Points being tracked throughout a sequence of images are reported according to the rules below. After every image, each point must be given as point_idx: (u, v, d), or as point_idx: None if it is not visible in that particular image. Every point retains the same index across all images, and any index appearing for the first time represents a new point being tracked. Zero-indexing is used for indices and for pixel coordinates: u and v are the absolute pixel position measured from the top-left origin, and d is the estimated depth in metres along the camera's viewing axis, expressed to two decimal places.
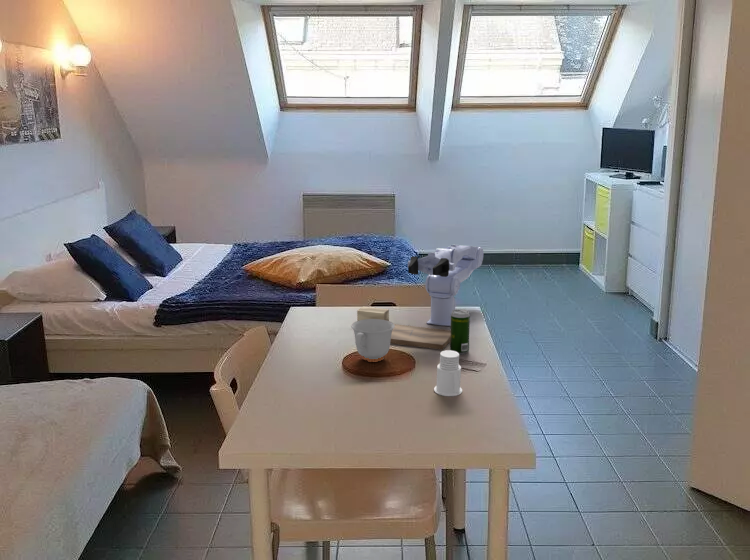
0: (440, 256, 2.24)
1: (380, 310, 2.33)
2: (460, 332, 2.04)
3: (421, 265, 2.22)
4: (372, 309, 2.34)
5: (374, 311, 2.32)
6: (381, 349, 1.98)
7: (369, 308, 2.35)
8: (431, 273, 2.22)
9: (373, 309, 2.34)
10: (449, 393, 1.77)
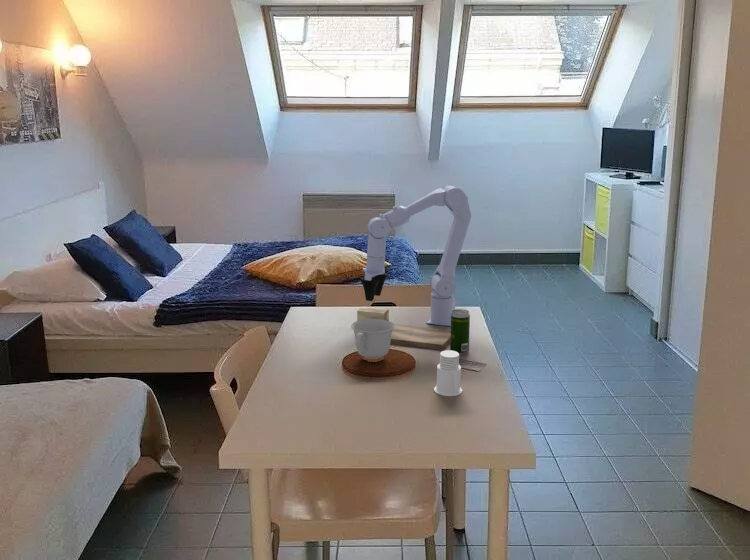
0: (367, 261, 2.28)
1: (380, 310, 2.33)
2: (460, 332, 2.04)
3: None
4: (372, 309, 2.34)
5: (374, 311, 2.32)
6: (381, 349, 1.98)
7: (369, 308, 2.35)
8: None
9: (373, 309, 2.34)
10: (449, 393, 1.77)
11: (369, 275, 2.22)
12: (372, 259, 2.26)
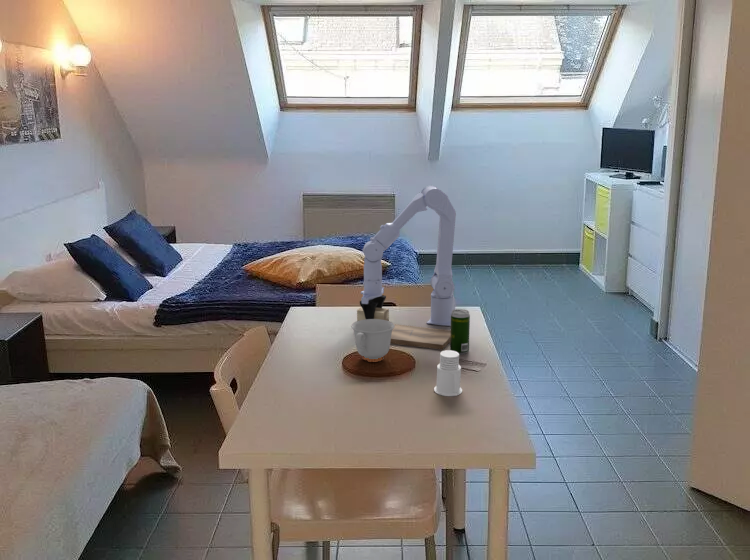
0: (364, 284, 2.31)
1: (380, 309, 2.33)
2: (460, 332, 2.04)
3: None
4: None
5: None
6: (381, 349, 1.98)
7: None
8: None
9: None
10: (449, 393, 1.77)
11: (365, 299, 2.25)
12: (368, 282, 2.29)
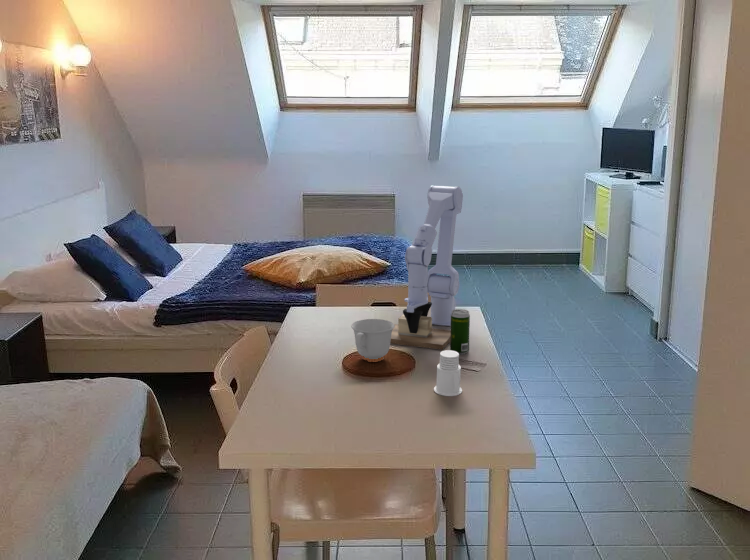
0: (408, 291, 2.16)
1: (423, 318, 2.18)
2: (460, 332, 2.04)
3: None
4: None
5: None
6: (381, 349, 1.98)
7: None
8: None
9: None
10: (449, 393, 1.78)
11: (411, 307, 2.10)
12: (414, 289, 2.14)
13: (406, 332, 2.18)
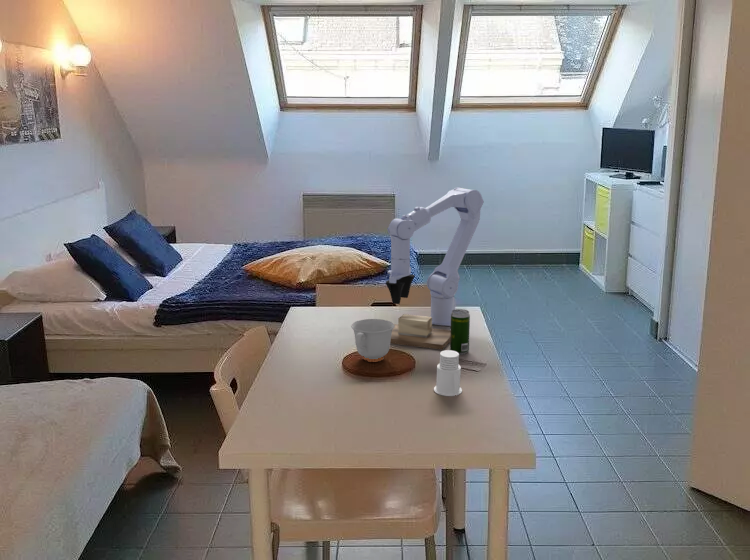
0: (391, 263, 2.23)
1: (423, 318, 2.18)
2: (460, 332, 2.04)
3: None
4: (414, 317, 2.19)
5: (417, 319, 2.17)
6: (381, 349, 1.98)
7: (411, 316, 2.20)
8: None
9: (416, 317, 2.19)
10: (449, 393, 1.78)
11: (394, 278, 2.18)
12: (396, 261, 2.21)
13: (406, 332, 2.18)
